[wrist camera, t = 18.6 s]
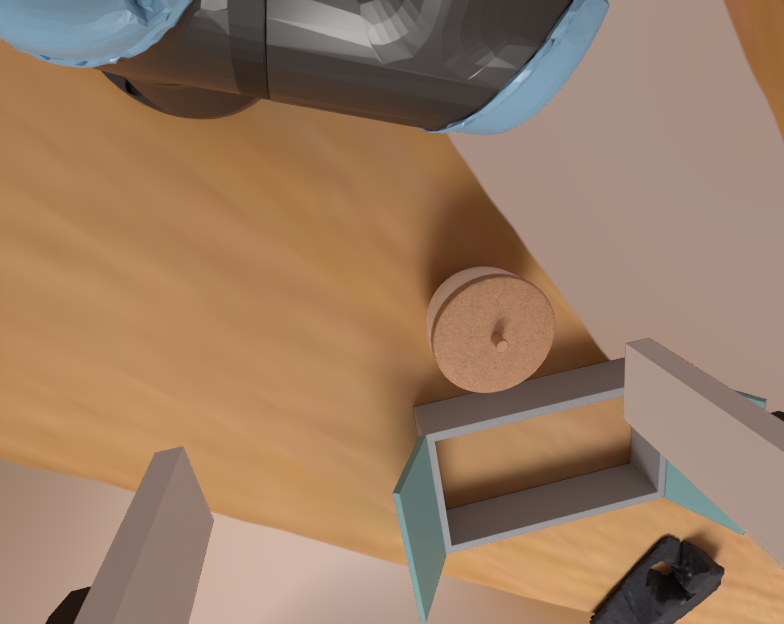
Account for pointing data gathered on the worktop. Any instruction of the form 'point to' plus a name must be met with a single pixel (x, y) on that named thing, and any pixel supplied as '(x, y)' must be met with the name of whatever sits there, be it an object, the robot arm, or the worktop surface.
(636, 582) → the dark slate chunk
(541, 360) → the lidded jar
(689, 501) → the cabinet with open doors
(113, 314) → the worktop surface
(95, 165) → the worktop surface
